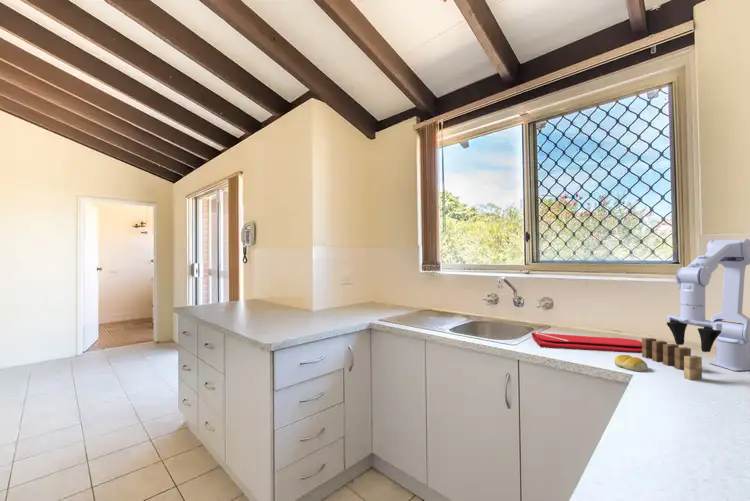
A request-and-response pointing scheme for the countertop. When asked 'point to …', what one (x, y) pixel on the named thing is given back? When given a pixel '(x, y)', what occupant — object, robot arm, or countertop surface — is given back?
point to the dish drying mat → (587, 343)
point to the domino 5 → (693, 367)
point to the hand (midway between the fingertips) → (692, 347)
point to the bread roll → (630, 363)
